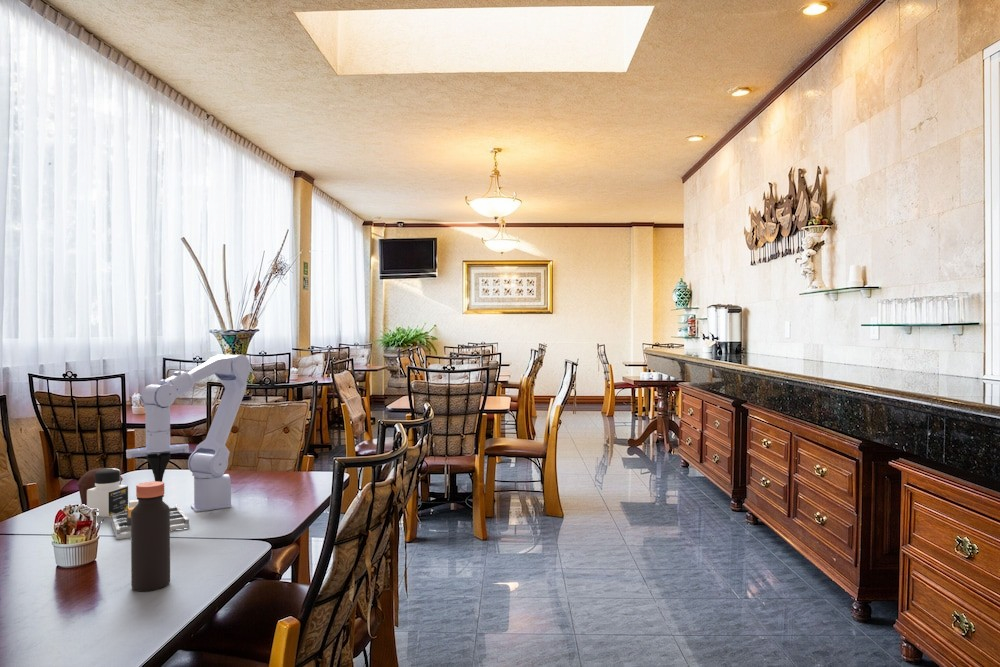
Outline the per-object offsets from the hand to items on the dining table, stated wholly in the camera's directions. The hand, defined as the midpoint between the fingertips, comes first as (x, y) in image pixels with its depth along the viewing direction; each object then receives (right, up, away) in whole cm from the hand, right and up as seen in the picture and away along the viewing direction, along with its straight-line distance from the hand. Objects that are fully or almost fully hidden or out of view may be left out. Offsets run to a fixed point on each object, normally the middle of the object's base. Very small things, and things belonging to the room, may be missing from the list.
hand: (158, 482), depth 177 cm
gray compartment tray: (-1, -10, -3) cm, 11 cm away
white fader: (-6, -9, -1) cm, 11 cm away
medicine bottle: (-18, -11, +9) cm, 23 cm away
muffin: (-26, -10, +19) cm, 34 cm away
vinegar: (+20, -11, -44) cm, 50 cm away
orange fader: (-2, -9, -8) cm, 12 cm away
